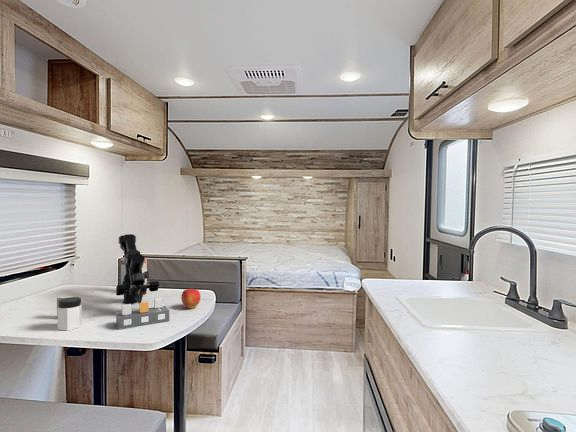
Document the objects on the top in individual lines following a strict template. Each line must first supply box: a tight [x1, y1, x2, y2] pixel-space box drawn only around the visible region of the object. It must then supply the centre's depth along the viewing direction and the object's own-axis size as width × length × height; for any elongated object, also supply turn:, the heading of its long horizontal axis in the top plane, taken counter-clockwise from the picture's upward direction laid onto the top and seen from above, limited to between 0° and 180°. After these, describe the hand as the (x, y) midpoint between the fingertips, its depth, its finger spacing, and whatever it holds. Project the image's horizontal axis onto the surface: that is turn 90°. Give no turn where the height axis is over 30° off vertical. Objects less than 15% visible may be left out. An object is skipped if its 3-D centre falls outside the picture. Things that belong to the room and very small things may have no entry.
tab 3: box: [153, 297, 164, 308], centre depth 160 cm, size 2×4×4 cm, turn 123°
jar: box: [57, 296, 83, 331], centre depth 148 cm, size 9×8×12 cm
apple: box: [180, 288, 201, 310], centre depth 177 cm, size 10×10×10 cm
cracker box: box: [120, 258, 148, 296], centre depth 202 cm, size 14×6×21 cm, turn 71°
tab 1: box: [121, 304, 132, 315], centre depth 150 cm, size 2×4×4 cm, turn 123°
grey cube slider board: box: [115, 305, 170, 330], centre depth 155 cm, size 8×21×5 cm, turn 123°
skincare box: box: [56, 294, 74, 320], centre depth 159 cm, size 5×4×10 cm
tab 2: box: [138, 301, 150, 313], centre depth 153 cm, size 2×4×4 cm, turn 123°
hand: (140, 303), depth 161 cm, fingers closed
